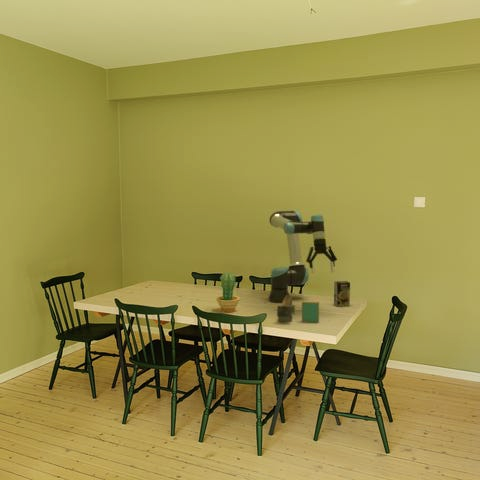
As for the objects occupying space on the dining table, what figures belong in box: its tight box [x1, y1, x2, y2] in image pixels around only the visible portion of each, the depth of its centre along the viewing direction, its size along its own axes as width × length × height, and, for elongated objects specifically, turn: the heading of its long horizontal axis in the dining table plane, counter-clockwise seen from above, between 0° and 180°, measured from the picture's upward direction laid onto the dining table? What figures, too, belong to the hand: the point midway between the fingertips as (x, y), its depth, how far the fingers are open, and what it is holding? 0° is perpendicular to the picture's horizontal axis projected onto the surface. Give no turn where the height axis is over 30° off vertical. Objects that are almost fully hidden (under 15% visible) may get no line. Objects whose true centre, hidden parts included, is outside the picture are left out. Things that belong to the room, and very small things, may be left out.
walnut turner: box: [276, 294, 293, 317], centre depth 289 cm, size 8×30×6 cm, turn 169°
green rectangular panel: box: [301, 300, 320, 323], centre depth 277 cm, size 10×2×12 cm, turn 79°
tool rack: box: [277, 304, 296, 322], centre depth 290 cm, size 8×24×4 cm, turn 169°
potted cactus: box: [216, 271, 241, 313], centre depth 305 cm, size 15×15×25 cm
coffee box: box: [333, 280, 351, 308], centre depth 314 cm, size 9×6×16 cm
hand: (323, 272), depth 290 cm, fingers open, 13 cm apart
